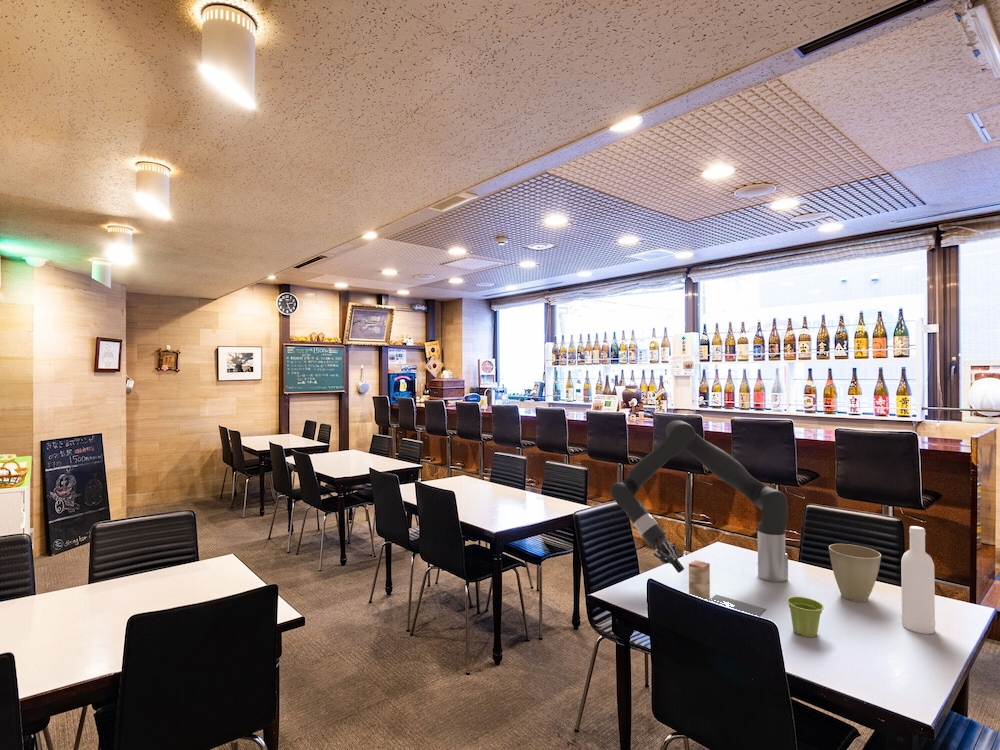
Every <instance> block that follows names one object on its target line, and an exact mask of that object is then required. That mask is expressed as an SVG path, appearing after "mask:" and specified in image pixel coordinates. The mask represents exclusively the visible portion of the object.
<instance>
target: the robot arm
mask: <svg viewBox="0 0 1000 750" xmlns="http://www.w3.org/2000/svg"><path fill="white" fill-rule="evenodd" d="M665 436H666V438H665V440H664V441H663V442H662V443H661V444H660V445H659V446H658V447H656V449H654V450H653V451H651V452H650V453H648V454H646V455H645V456H644V457H642V458H641V459H640V460H639V461H638V462H637V463H636V464H635V465H634V466H632V468H630V470H629V471H628V472H627V475H626V477H624V479H623V480H622V481H621V482H620V481H617V482H614V483H613V484H612V485H611V486H610V496H611V498H612V499H613V500H614V501H615V503H617V505H618V506H619V507H620V508H621V509H622V510H623V511H624V513H625V514H626V516H627V517H628V519H630V521H631V523H632V524H633V525H634V526H635V528H636V531H638V533H639V534H640V536H641V537H642V538H643V539H644V541H645V542H646V543H647V545H648V546H652V547H653V549H654V553H653V556H654V557H656V558H657V559H659V560H661V561H662V562H664V563H665V564H666V565H667V564H670V565H671V566H672V567H673V568H674V569H675V571H676V572H677V573H678V574H679V573H682V572H683V571H684V570H685V567H684V566H683V564H682V563H681V562H680V560H679V557H680V554H679V551H678V546H677V544H676V543H675V542H670V541H669V539H668V538H666V532H665V530H664V529H663V528H662V526H661V525H660V524H659V522H658V521H657V520H656V519H655V517H654V516H653V515H652V514H651V513H650V512H649V511H648V510H647V508H646V507H645V506H644V505H643V504H642V502H641V501H639V500H638V499H637V497H636V496H635V495H636V494H637V492H638V491H639V490H640V489H641V487H642V486H643V485H644V484H646V482H647V481H649V480H650V479H651V477H653V475H655V473H656V472H657V471H659V469H660V468H662V467H663V466H664V465H665V464H667V462H668V461H669V460H671V459H672V458H673V457H675V456H676V455H677V454H678V453H681V451H683V450H685V451H686V452H688V454H691V455H692V456H693V457H694V458H695V459H696V460H697V461H698V462H700V463H701V464H702V466H704V467H705V468H706V469H707V470H709V471H710V472H711V473H712V474H713V475H715V476H716V477H717V478H719V479H720V480H721V481H723V482H724V483H725V484H727V485H729V486H731V487H732V488H734V489H736V490H738V491H739V492H740V493H742V494H743V495H744V496H745V497H746V498H747V499H748V500H750V501H751V502H752V504H754V505H755V506H756V507H757V508H758V509H759V510H762V517H761V521H758V523H757V577H759V578H760V579H762V580H764V581H767V582H772V583H773V582H774V583H781V582H785V581H789V554H788V553H786V528H787V527H788V520H789V502H788V498H787V495H785V493H783V492H781V491H780V490H777V489H774V488H773V487H770V486H768V485H766V484H764V483H763V482H761V481H759V480H758V479H756V478H755V477H753V476H752V475H751V473H750V472H748V470H747V469H746V468H745V467H744V466H743V465H742V464H741V462H739V461H738V460H737V459H735V457H733V456H732V455H731V454H729V453H727V452H726V451H724V450H722V449H721V448H720V447H718V446H716V445H714V444H712V443H711V442H709V441H707V440H706V439H704V438H703V437H701V436H700V435H699V434H698V433H696V430H695V429H694V427H693V426H692V425H691V424H689V423H688V422H685V421H683V420H679V419H677V420H671V421H670V422H669V423H668V424H667V425H666V426H665Z"/></svg>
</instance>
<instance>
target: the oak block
mask: <svg viewBox="0 0 1000 750" xmlns="http://www.w3.org/2000/svg"><path fill="white" fill-rule="evenodd" d="M710 567H711V565H710V563H709V562H705V561H700V560H697V559H695V560H692V561H691V562H689V563H688V595H689V594H692V595H695V596H698V597H701V598H703V599H707V600H709V598H710V599H711V590H710V589H711V585H710V584H711V581H710V580H711V577H710V572H711V571H710Z"/></svg>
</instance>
